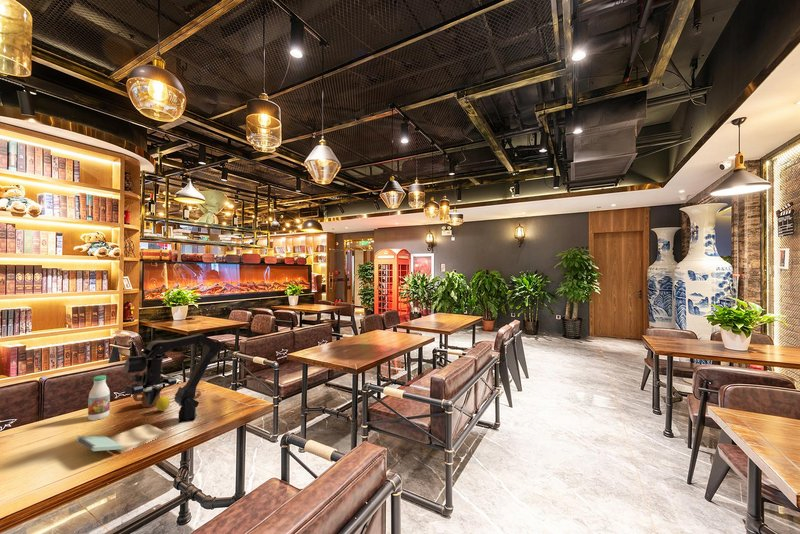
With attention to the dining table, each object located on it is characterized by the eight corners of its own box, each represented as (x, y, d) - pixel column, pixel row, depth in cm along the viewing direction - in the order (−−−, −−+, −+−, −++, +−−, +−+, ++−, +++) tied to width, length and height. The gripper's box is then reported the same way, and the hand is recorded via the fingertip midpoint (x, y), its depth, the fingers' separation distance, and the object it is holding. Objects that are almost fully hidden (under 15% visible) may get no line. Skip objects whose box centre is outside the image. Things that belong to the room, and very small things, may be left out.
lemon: (160, 409, 166) (161, 393, 166) (171, 409, 167) (172, 393, 167) (153, 414, 161) (153, 398, 161) (165, 413, 161) (165, 397, 161)
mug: (136, 412, 162) (137, 393, 162) (128, 409, 165) (129, 391, 165) (162, 403, 173) (163, 386, 173) (154, 401, 176) (155, 384, 176)
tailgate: (104, 434, 134) (77, 435, 127) (122, 445, 126) (95, 446, 119) (102, 439, 133) (75, 440, 126) (120, 449, 126) (92, 451, 119)
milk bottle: (84, 419, 154) (85, 377, 154) (104, 412, 161) (105, 373, 162) (93, 422, 151) (94, 380, 151) (112, 415, 158) (114, 375, 159)
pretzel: (171, 401, 177) (172, 394, 177) (183, 393, 188) (183, 387, 188) (194, 400, 178) (194, 394, 178) (204, 393, 189) (204, 387, 189)
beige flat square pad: (147, 426, 148) (147, 423, 148) (165, 435, 140) (166, 432, 140) (103, 442, 134) (103, 439, 134) (120, 453, 126) (120, 449, 126)
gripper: (163, 363, 156) (160, 395, 154) (118, 371, 138) (114, 407, 137) (179, 366, 152) (175, 399, 150) (135, 375, 134) (130, 412, 133)
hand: (149, 404), depth 143 cm, fingers closed
